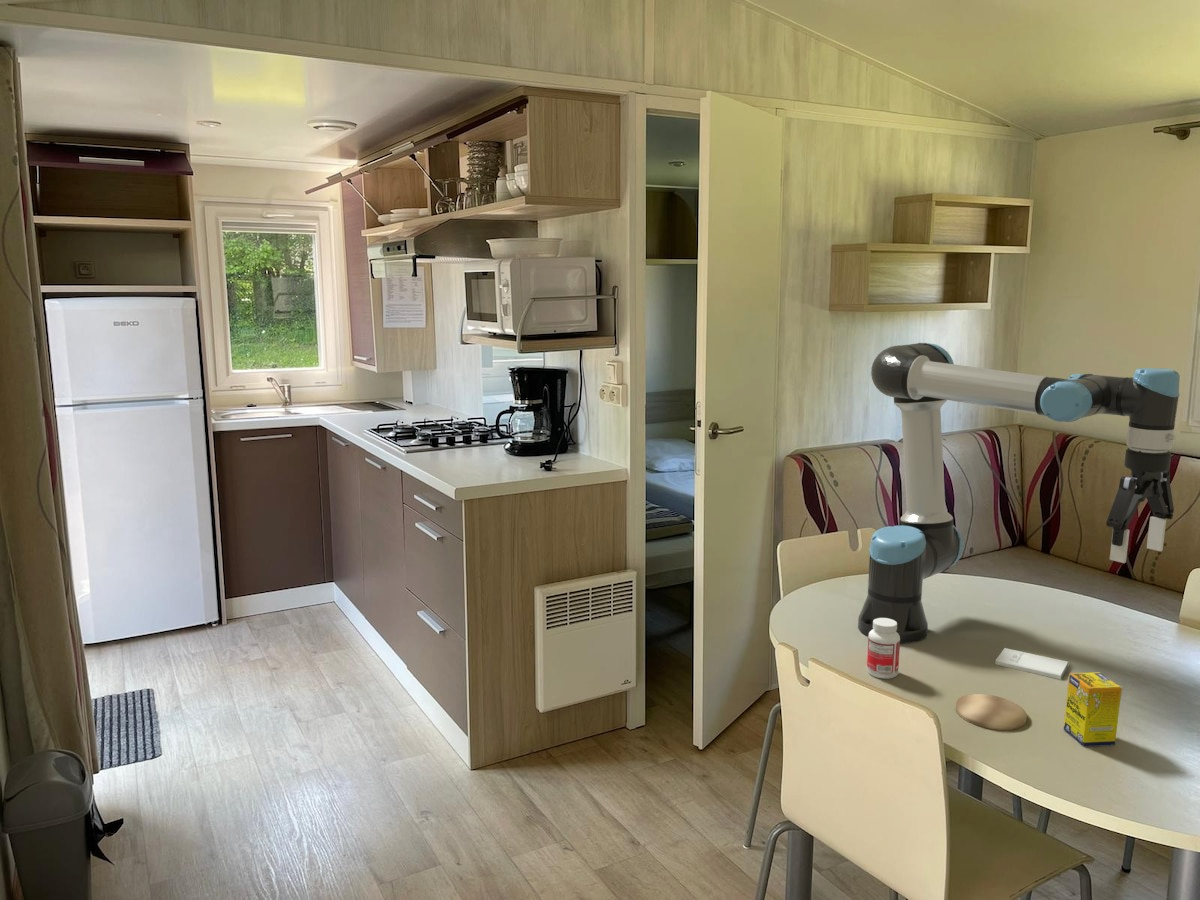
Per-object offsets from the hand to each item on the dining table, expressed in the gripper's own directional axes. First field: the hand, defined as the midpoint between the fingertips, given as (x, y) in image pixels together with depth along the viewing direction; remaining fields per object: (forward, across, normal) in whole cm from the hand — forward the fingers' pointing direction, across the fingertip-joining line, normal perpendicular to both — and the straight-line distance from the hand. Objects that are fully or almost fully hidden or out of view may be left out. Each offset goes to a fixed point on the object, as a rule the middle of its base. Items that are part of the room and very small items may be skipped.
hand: (1136, 555), depth 176 cm
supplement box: (+26, -30, -10) cm, 41 cm away
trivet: (+26, -37, +4) cm, 45 cm away
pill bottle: (+26, -40, +27) cm, 54 cm away
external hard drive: (+26, -10, +13) cm, 31 cm away
